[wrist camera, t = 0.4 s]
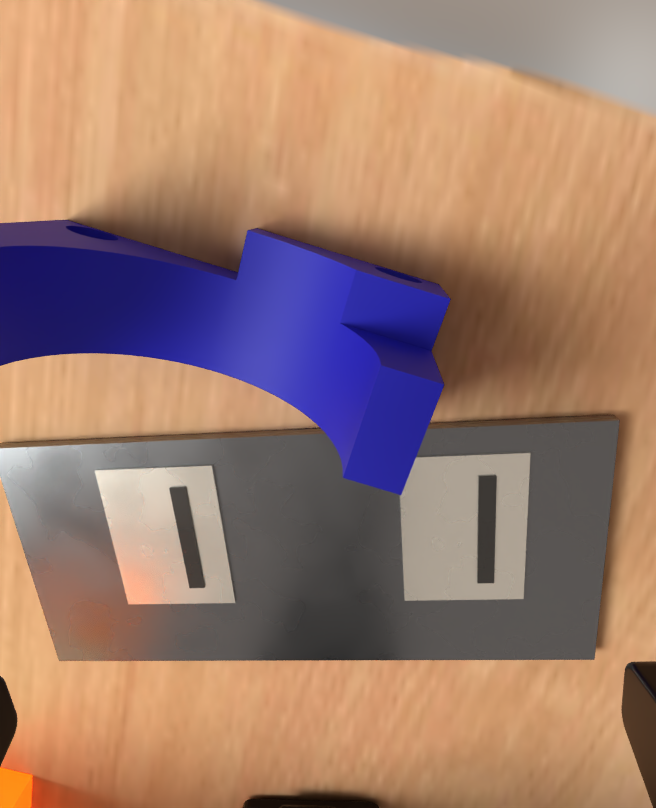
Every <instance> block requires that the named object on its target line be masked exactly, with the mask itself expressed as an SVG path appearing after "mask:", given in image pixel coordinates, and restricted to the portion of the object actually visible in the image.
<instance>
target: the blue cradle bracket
mask: <svg viewBox="0 0 656 808" xmlns="http://www.w3.org/2000/svg"><path fill="white" fill-rule="evenodd" d="M450 300H451V299H450V298H449V296H448V295H447V294H446V293H445V291H444V290H443V289H442V288H441V286H440V285H439V284H436V283H433V282H430V281H426V280H423V279H420V278H417V277H413V276H410V275H407V274H404V273H400V272H397V271H394V270H391V269H387V268H384V267H381V266H378V265H374V264H371V263H368V262H365V261H362V260H358V259H355V258H352V257H349V256H345V255H342V254H339V253H336V252H332V251H329V250H326V249H323V248H319V247H316V246H313V245H310V244H306V243H303V242H300V241H297V240H294V239H290V238H287V237H284V236H281V235H277V234H274V233H271V232H268V231H264V230H261V229H258V228H256V229H251V230H248V231H247V236H246V240H245V244H244V249H243V253H242V258H241V262H240V267H239V271H238V272H235V271H232V270H229V269H225V268H222V267H219V266H216V265H212V264H209V263H206V262H203V261H199V260H196V259H193V258H189V257H186V256H183V255H180V254H176V253H173V252H170V251H167V250H163V249H160V248H157V247H154V246H150V245H147V244H144V243H141V242H137V241H134V240H131V239H127V238H124V237H121V236H118V235H114V234H111V233H108V232H105V231H101V230H98V229H95V228H92V227H88V226H85V225H82V224H78V223H75V222H72V221H69V220H53V221H35V222H16V223H0V366H1V365H4V364H8V363H11V362H15V361H20V360H24V359H29V358H35V357H41V356H49V355H59V354H75V353H106V354H123V355H134V356H143V357H151V358H157V359H164V360H169V361H175V362H180V363H184V364H189V365H193V366H197V367H201V368H205V369H208V370H212V371H215V372H218V373H222V374H225V375H228V376H231V377H233V378H236V379H239V380H242V381H244V382H247V383H249V384H252V385H254V386H256V387H259V388H261V389H263V390H265V391H267V392H269V393H271V394H273V395H275V396H277V397H279V398H281V399H282V400H284V401H286V402H288V403H289V404H291V405H292V406H294V407H295V408H297V409H298V410H300V411H301V412H302V413H304V414H305V415H307V416H308V417H309V418H310V419H311V420H313V421H314V422H315V423H316V424H317V425H318V426H319V427H320V428H321V429H322V430H323V431H324V432H325V433H326V434H327V436H328V437H329V438H330V439H331V441H332V442H333V444H334V446H335V447H336V449H337V451H338V453H339V456H340V458H341V462H342V467H343V478H345V479H348V480H352V481H355V482H358V483H362V484H365V485H369V486H372V487H375V488H379V489H382V490H385V491H389V492H392V493H395V494H399V495H401V494H402V492H403V489H404V487H405V484H406V482H407V479H408V476H409V474H410V471H411V469H412V466H413V464H414V461H415V459H416V456H417V453H418V451H419V448H420V446H421V443H422V441H423V438H424V435H425V433H426V430H427V428H428V425H429V423H430V420H431V417H432V415H433V412H434V410H435V407H436V405H437V402H438V400H439V397H440V394H441V392H442V389H443V387H444V382H443V380H442V377H441V375H440V372H439V369H438V367H437V364H436V362H435V359H434V357H433V354H432V348H433V345H434V343H435V340H436V337H437V335H438V332H439V329H440V327H441V324H442V321H443V318H444V316H445V313H446V310H447V308H448V305H449V302H450Z"/></svg>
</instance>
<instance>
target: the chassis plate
mask: <svg viewBox="0 0 656 808" xmlns="http://www.w3.org/2000/svg"><path fill="white" fill-rule="evenodd" d="M619 421H620V420H619V419H618V418H616V417H615V416H614V415H597V416H575V417H554V418H532V419H510V420H489V421H467V422H446V423H429V425H428V428H427V430H426V433H425V435H424V438H423V441H422V443H421V446H420V448H419V451H418V453H417V456H416V459H415V461H414V464H413V466H412V469H411V471H410V474H409V476H408V479H407V482H406V484H405V487H404V489H403V492H402V494H401V495H399V494H395V493H392V492H389V491H385V490H382V489H379V488H375V487H372V486H369V485H365V484H362V483H358V482H355V481H352V480H348V479H345V478H343V467H342V462H341V458H340V456H339V453H338V451H337V449H336V447H335V446H334V444H333V442H332V441H331V439H330V438H329V437H328V436H327V434H326V433H325V432H324V431H323V430H322V429H321V428H316V429H295V430H273V431H251V432H230V433H208V434H187V435H165V436H143V437H122V438H100V439H79V440H57V441H35V442H14V443H0V478H1V481H2V484H3V487H4V490H5V493H6V496H7V500H8V503H9V506H10V509H11V512H12V515H13V518H14V521H15V525H16V528H17V531H18V534H19V537H20V540H21V543H22V546H23V550H24V553H25V556H26V559H27V562H28V565H29V568H30V571H31V575H32V578H33V581H34V584H35V587H36V590H37V593H38V597H39V600H40V603H41V606H42V609H43V612H44V615H45V618H46V622H47V625H48V628H49V631H50V634H51V637H52V640H53V643H54V647H55V650H56V653H57V656H58V659H59V661H214V660H594V658H595V649H596V639H597V630H598V620H599V611H600V601H601V592H602V583H603V573H604V564H605V554H606V545H607V535H608V526H609V516H610V507H611V497H612V488H613V478H614V469H615V459H616V450H617V440H618V431H619Z"/></svg>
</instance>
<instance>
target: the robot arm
mask: <svg viewBox="0 0 656 808" xmlns="http://www.w3.org/2000/svg"><path fill="white" fill-rule="evenodd" d="M622 718H623V723H624V727H625V730H626V733H627V736H628V739H629V741H630V744H631V747H632V750H633V753H634V755H635V758H636V761H637V764H638V767H639V769H640V772H641V775H642V778H643V781H644V783H645V786H646V789H647V792H648V795H649V797H650V800H651V803H652V806H653V808H656V662H655V661H654V662H631V663H629V664H627V666H626V668H625V674H624V686H623V698H622ZM16 727H17V713H16V710H15V708H14V705H13V702H12V699H11V697H10V694H9V691H8V688H7V685H6V683H5V681H4V679H3V678H2V677H1V676H0V766H1V764H2V761H3V759H4V757H5V755H6V753H7V750H8V748H9V746H10V744H11V741H12V739H13V737H14V734H15V731H16ZM243 808H379V806H378V805H377V804H375V803H372V802H351V801H310V800H268V799H249V800H247V801H245V803H244V805H243Z"/></svg>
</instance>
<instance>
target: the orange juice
mask: <svg viewBox="0 0 656 808" xmlns="http://www.w3.org/2000/svg"><path fill="white" fill-rule="evenodd" d="M32 776H33V775H30V774H26V773H21V772H17V771H13V770H9V769H4V768H0V808H31V799H32Z"/></svg>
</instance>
